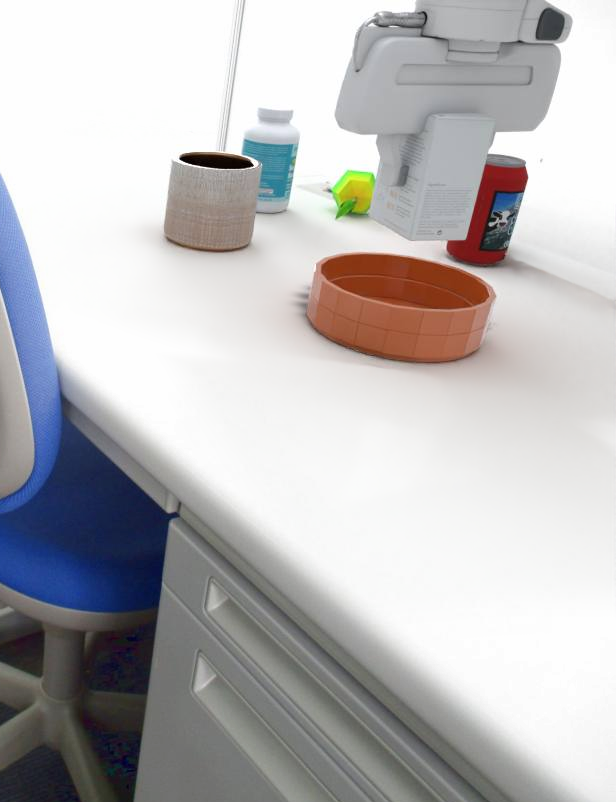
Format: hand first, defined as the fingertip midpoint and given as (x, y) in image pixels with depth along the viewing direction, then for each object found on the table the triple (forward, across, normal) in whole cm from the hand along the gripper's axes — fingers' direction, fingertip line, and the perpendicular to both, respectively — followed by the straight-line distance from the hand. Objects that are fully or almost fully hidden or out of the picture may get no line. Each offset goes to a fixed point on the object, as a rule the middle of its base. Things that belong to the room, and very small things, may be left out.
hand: (425, 183), depth 77 cm
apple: (+14, +22, +36) cm, 44 cm away
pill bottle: (+14, +11, +42) cm, 46 cm away
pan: (+14, 0, 0) cm, 14 cm away
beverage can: (+14, +25, +16) cm, 33 cm away
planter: (+14, -4, +30) cm, 33 cm away
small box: (+4, 0, 0) cm, 4 cm away
